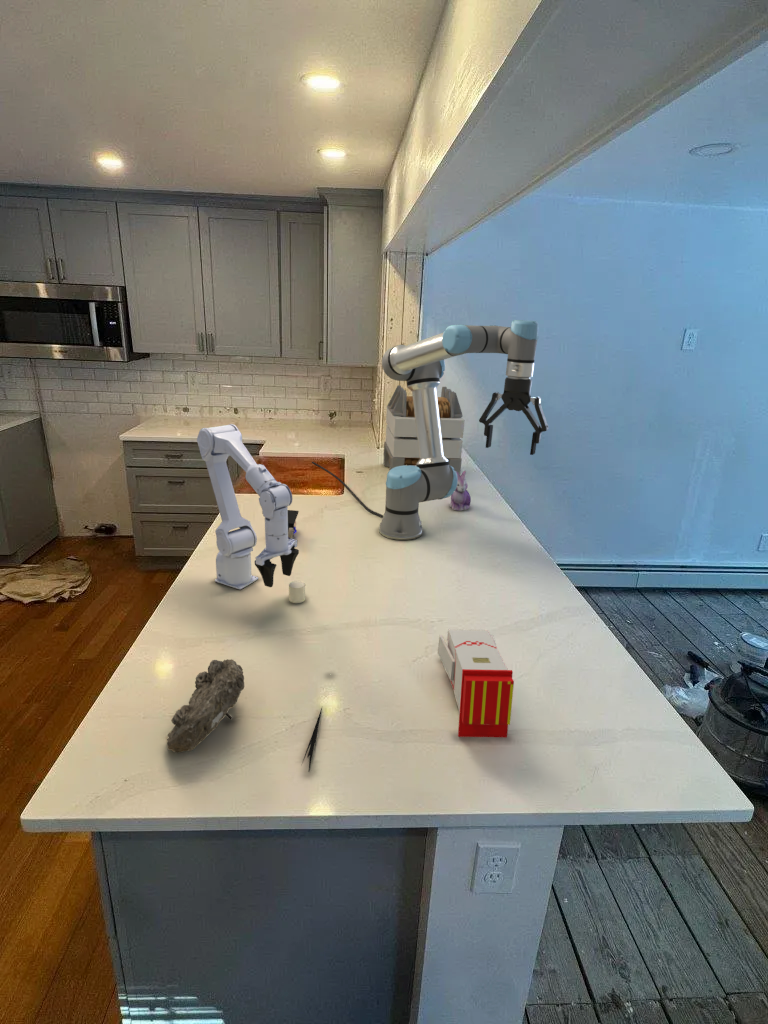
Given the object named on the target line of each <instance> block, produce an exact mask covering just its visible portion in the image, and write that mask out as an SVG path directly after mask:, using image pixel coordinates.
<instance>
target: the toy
mask: <svg viewBox="0 0 768 1024" xmlns="http://www.w3.org/2000/svg"><path fill="white" fill-rule="evenodd" d="M446 640H447V643H446V641H445V639H444V636H443V635H442V634H439V637H438V646H437V656H438V657H439V659H440V661H441V663H442V666H443V668H444V670H445V672H446V674H447V677H448V679H449V681H450V684H451V687H452V690H453V693H454V697H455V701H456V705H457V708H458V711H459V714H458V715H459V716H458V730H457V731H458V732H457V737H458V738H508V731H509V726H510V725H511V717H512V707H513V697H514V696H513V695H514V684H515V680H514V679H513V673H514V671H513V670H512V669H508V667H507V665H506V662H505V661H504V659H503V658H502V655H501V653H500V651H499V649H498V647H497V643H496V639H495V637H494V635H493V634H491V632H490V631H489V629H467V628H466V629H465V628H463V629H461V628H460V629H459V628H448V630H447V639H446Z"/></svg>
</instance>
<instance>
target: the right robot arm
mask: <svg viewBox="0 0 768 1024" xmlns="http://www.w3.org/2000/svg"><path fill="white" fill-rule="evenodd" d="M538 339H539V323H538V321H537V320H523V319H522V320H520V319H514V320H512V321H511V326H504V325H503V326H501V325H494V324H493V325H491V324H490V325H473V324H472V325H471V324H470V325H467V324H460V323H459V324H453V325H448V326H447V327H446V329H445V330H444V331H443V332H441V333H438V334H435V335H433V336H430V337H427V338H424V339H421V340H418V341H415V342H413V343H410V344H408V345H405V344H398V345H395V346H392V347H390V348H388V349H386V350H385V352H384V353H383V356H382V358H381V367H382V370H383V372H384V374H385V375H386V376H387V377H388V378H389V379H391V380H393V381H398V382H406V387H407V389H408V390H409V391H411V395H412V396H413V404H414V413H415V421H416V430H417V438H418V447H419V456H420V460H419V461H418V462H417V464H416V466H413V465H408V466H407V465H403V466H398V467H394V468H392V469H391V470H390V469H389V470H388V472H387V475H386V479H385V504H384V505H385V507H384V508H385V509H384V513H383V514H381V513H379V512H377V511H374V510H373V509H371V508H370V507H368V506H367V505H366V504H365V503H364V502H363V501H362V500H361V499H360V498H359V497H358V496H357V494H356V493H354V491H353V490H352V489H351V488H350V487H349V486H348V485H347V484H346V483H345V482H344V481H343V480H342V479H341V478H339V477H338V476H337V475H336V474H334V473H333V472H332V471H330V470H329V469H327V468H325V467H323V466H321V465H319V463H317V462H315V461H311V464H313V465H315V466H316V467H318V468H320V469H321V470H323V471H324V472H326V473H327V474H329V475H331V476H332V477H333V478H335V479H336V480H337V481H339V482H340V483H341V484H342V485H343V486H344V488H346V490H348V491H349V492H350V494H351V495H352V496H353V497H354V498H355V499H356V500H357V501H358V502H359V503H360V504H361V506H363V507H364V509H365V510H367V511H368V512H370V514H374V515H376V516H378V517H380V518H381V522H379V527H378V533H379V534H380V535H381V536H382V537H385V538H387V539H389V540H395V541H410V540H415V539H418V538H420V537H421V536H422V535H423V525H422V520H421V518H420V515H419V507H420V506H419V505H420V503H426V502H431V501H437V500H439V501H440V500H443V499H446V498H450V497H451V495H452V494H453V493H454V491H455V490H456V487H457V481H458V478H457V473H456V471H454V470H455V469H454V468H453V467H452V466H450V465H449V460H448V459H446V458H445V457H444V454H443V445H442V436H441V427H440V418H439V409H438V400H437V397H438V392H437V391H438V390H437V388H438V387H439V385H440V384H441V381H440V379H442V377H443V376H444V374H445V371H446V361H445V360H447V359H451V358H454V357H458V356H462V355H465V354H503V355H507V360H506V369H505V376H507V377H505V379H504V385H503V393H500V392H499V391H495V392H493V393H492V395H491V399H490V401H489V402H488V405H487V406H486V408H485V409H484V411H483V412H482V414H481V416H480V418H479V419H478V422H479V423H481V424H483V425H484V429H483V430H484V431H483V435H484V436H483V437H486V438H485V448H487V449H489V448H491V446H492V440H493V431H494V424H492V423H494V421H496V419H497V418H498V417H500V415H502V414H503V413H504V412H505V411H506V410H508V411H516V412H522V413H523V414H524V415H525V417H526V419H527V420H528V422H529V424H530V425H531V427H532V428H533V430H534V431H533V432H532V437H531V444H530V450H529V451H530V452H529V455H531V456H534V455H535V454H536V450H537V445H538V444H540V443H541V438H542V433H543V432H544V433H545V432H547V431H548V430H549V429H550V427H549V424H548V421H547V418H546V415H545V412H544V410H543V409H544V408H543V407H542V397H541V396H536V397H534V396H532V395H531V392H532V391H531V390H532V385H533V380H532V378H533V375H534V369H535V359H536V351H537V345H538ZM500 400H502V402H503V404H502V405H500V407H499V408H497V410H495V412H494V413H493V414H492V415H491V416H490V414H491V412H492V411H493V409H494V408H495V406H496V404H497V403H498V401H500ZM530 403H532V405H533V406H534V409H535V413H536V414H537V418H538V420H537V418H536V417H535V415H534V413H533V412H532V410H531V408H530V406H529V404H530ZM489 416H490V417H489ZM488 417H489V418H488ZM538 421H539V422H538Z"/></svg>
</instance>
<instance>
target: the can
mask: <svg viewBox="0 0 768 1024" xmlns="http://www.w3.org/2000/svg"><path fill="white" fill-rule="evenodd" d="M305 600H306V583H305V582H304V581H302V580H293V581H291V582H289V583H288V601H289V602H290V603H291V604H301V603H303V602H304V601H305Z"/></svg>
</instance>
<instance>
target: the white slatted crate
mask: <svg viewBox="0 0 768 1024" xmlns="http://www.w3.org/2000/svg"><path fill="white" fill-rule="evenodd" d="M440 393H441V394H440V396H437V400H438V409H439V418H440V427H441V436H442V445H443V454H444V457H445V458H446V459H448V460H449V465H450V466H452V467H453V468H454V469H455V470H454V471H457V472H458V473H459V475H460V476H461V475H462V473H461V472H462V461H463V460H462V453H463V442H464V441H463V440H462V439H463V438H464V431H465V430H464V429H465V419H464V418H463V411H462V408H461V405H460V402H459V398H458V395H457V392H455V391H453V390H452V389H451V388H447V386H442V387H441V392H440ZM407 394H408V393H407V390H406V389H404V388H403V387H402V385H399V384H398V385H397V386H396V388H395V390H394V392H393V394H392V395H391V398H390V400H389V402H388V404H387V405H386V413H385V414H386V415H385V423H386V428H385V438H384V442H383V466H384V467H388V468H389V471H390V470H391V469H392V468H394V467H398V466H403V465H406V466H408V465H413V466H416V464H417V462H418V461H419V460H420V456H419V447H418V438H417V430H416V421H415V413H414V404H413V395H412V396H411V395H407Z"/></svg>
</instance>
